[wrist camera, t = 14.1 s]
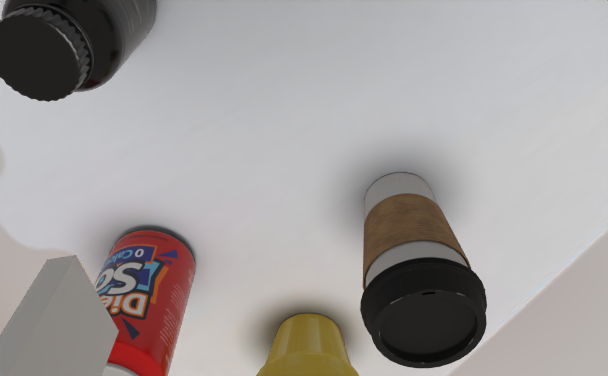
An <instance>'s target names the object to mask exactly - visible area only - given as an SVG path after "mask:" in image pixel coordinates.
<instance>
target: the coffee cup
mask: <svg viewBox="0 0 608 376" xmlns="http://www.w3.org/2000/svg"><path fill="white" fill-rule="evenodd" d="M363 289H364V292H363V295H362V299H361V308H360V311H361V314H362V318H363V321H364V325H365V327H366V328H367V330H368V332H369V334H370V335H371V336H372V340H373V342H374V344H375V346H376V348H377V349H378V350H379V351H380V352H381V354H382V355H383V356H385V357H386V358H388V359H389V360H391V361H393V362H395V363H397V364H399V365H403V366H407V367H413V368H433V367H440V366H443V365H447V364H450V363H452V362H455V361H457V360H459V359H461V358H462V357H464V356H465V355H467V354H468V353H469V352H471V351H472V350H473V349H474V348H475V347H476V346H477V344H478V343H479V342H480V340H481V339H482V337H483V335H484V333H485V329H486V314H485V312H486V307H487V302H486V295H485V289H484V286H483V284H482V281H481V280H480V279H479V277H478V276H477V275H476V273H474V272H473V271H472V270H471V267H470V264H469V261H468V259H467V257H466V256H465V254H464V252H463V250H462V248H461V246H460V244H459V242H458V241H457V239H456V237H455V235H454V233H453V231H452V229H451V227H450V226H449V224H448V222H447V220H446V218H445V216H444V214H443V212H442V210H441V209H440V208H439V206H438V203H437V201H436V199H435V197H434V195H433V193H432V191H431V189H430V187H429V186H428V184H427V183H426V182H425V181H424V180H423V179H421V178H420V177H418V176H416V175H413V174H409V173H393V174H389V175H386V176H383V177H382V178H380V179H378V180H377V181H376V182H374V183H373V184H372V185H371V187H370V188H369V189H368V191H367V193H366V195H365V199H364V254H363Z"/></svg>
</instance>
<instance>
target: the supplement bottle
mask: <svg viewBox="0 0 608 376" xmlns="http://www.w3.org/2000/svg"><path fill="white" fill-rule="evenodd" d="M155 12H156V5H155V0H6V1H5V4H4V7H3V11H2V19H1V20H0V77H1V78H2V79H3V80H4V81H5V83H6V84H7V85H9V86H11V87H12V89H13V90H15V91H18V92H19V93H20V94H21V95H24V96H27V97H29V98H30V99H36V100H39V101H43V100H44V101H48V102H49V101H51V100H54V101H57V100H59V99H62V98H65V97H66V96H67V95H70V94H72V93H73V92H84V91H89V90H93V89H95V88H98V87H100V86H102V85H103V84H105V83H106V82H107V81H109V80H110V79H111V78H112V77H113V76H114V74H115V73H116V72H117V71H118V70H119V69H120V67H121V66H122V65H123V64H124V63H125V61H126V60H127V59H128V58H129V56H130V55H131V54H132V53H133V52H134V50H135V49H136V48H137V47H138V46H139V44H140V43H141V42H142V41H143V40H144V38H145V37H146V36H147V34H148V33H149V31H150V29H151V28H152V25H153V23H154V19H155Z"/></svg>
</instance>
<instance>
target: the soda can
mask: <svg viewBox="0 0 608 376" xmlns="http://www.w3.org/2000/svg"><path fill="white" fill-rule="evenodd" d="M194 275H195V262H194V258H193V256H192V254H191V252H190V251H189V250H188V248H187V247H186V246H185V245H184V244H183V243H182V242H180V241H179V240H178V239H176V238H174V237H172V236H170V235H168V234H165V233H162V232H158V231H152V230H142V231H136V232H132V233H129V234H127V235H125V236H123V237H122V238H120V239H119V240H118V241H117V242H116V243H115V245H114V246H113V248H112V250H111V252H110V253H109V255H108V258H107V260H106V262H105V264H104V266H103V268H102V270H101V272H100V274H99V276H98V278H97V280H96V282H95V284H94V288H95V290H96V292H97V293H98V295H99V297H100V299H101V300H102V302H103V304H104V306H105V307H106V309H107V311H108V313H109V315H110V316H111V318H112V320H113V322H114V323H115V325H116V327H117V329H118V330H119V332H118V335H117V337H116V340H115V342H114V345H113V347H112V350H111V353H110V355H109V358H108V360H107V363H106V365H105V368H104V370H103V373H102V376H168V373H169V369H170V365H171V361H172V358H173V354H174V350H175V346H176V343H177V339H178V335H179V332H180V328H181V324H182V320H183V317H184V313H185V309H186V305H187V302H188V298H189V294H190V290H191V287H192V283H193V279H194Z"/></svg>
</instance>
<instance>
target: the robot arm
mask: <svg viewBox="0 0 608 376" xmlns="http://www.w3.org/2000/svg"><path fill="white" fill-rule="evenodd" d="M118 332H119V330H118V329H117V327H116V325H115V323H114V322H113V320H112V318H111V316H110V315H109V313H108V311H107V309H106V307H105V306H104V304H103V302H102V300H101V299H100V297H99V295H98V293H97V292H96V290H95V288H94V286H93V285H92V283H91V281H90V280H89V278H88V276H87V274H86V272H85V270H84V269H83V267H82V265H81V263H80V262H79V260H78V258H77V256H76V255H74V256H68V257H61V258H55V259H49V260H47V261H46V263H45V264H44V266H43V268H42V269H41V271H40V272H39V274H38V276H37V277H36V279H35V280H34V282H33V284H32V285H31V287H30V288H29V290H28V291H27V293H26V295H25V296H24V298H23V300H22V301H21V303H20V305H19V306H18V308H17V309H16V311H15V312H14V314H13V315H12V317H11V319H10V320H9V322H8V323H7V325H6V327H5V328H4V330H3V331H2V333H1V335H0V376H102V373H103V370H104V368H105V365H106V363H107V360H108V358H109V355H110V353H111V350H112V347H113V345H114V342H115V340H116V337H117V335H118Z"/></svg>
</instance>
